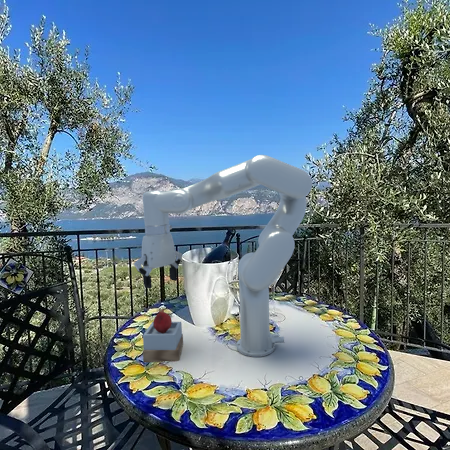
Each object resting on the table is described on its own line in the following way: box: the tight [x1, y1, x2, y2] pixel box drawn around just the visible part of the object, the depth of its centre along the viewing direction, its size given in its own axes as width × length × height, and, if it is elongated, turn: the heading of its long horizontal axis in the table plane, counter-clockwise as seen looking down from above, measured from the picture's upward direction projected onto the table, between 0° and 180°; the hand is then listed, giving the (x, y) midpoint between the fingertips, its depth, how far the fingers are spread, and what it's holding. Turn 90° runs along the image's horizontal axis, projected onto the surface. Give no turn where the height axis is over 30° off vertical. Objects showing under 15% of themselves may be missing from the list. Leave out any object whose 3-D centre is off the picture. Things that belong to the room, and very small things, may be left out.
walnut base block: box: [142, 333, 184, 364], centre depth 101 cm, size 11×11×4 cm
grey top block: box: [142, 321, 183, 350], centre depth 100 cm, size 10×10×5 cm
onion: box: [152, 309, 173, 334], centre depth 100 cm, size 6×6×8 cm
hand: (161, 283), depth 99 cm, fingers open, 9 cm apart
